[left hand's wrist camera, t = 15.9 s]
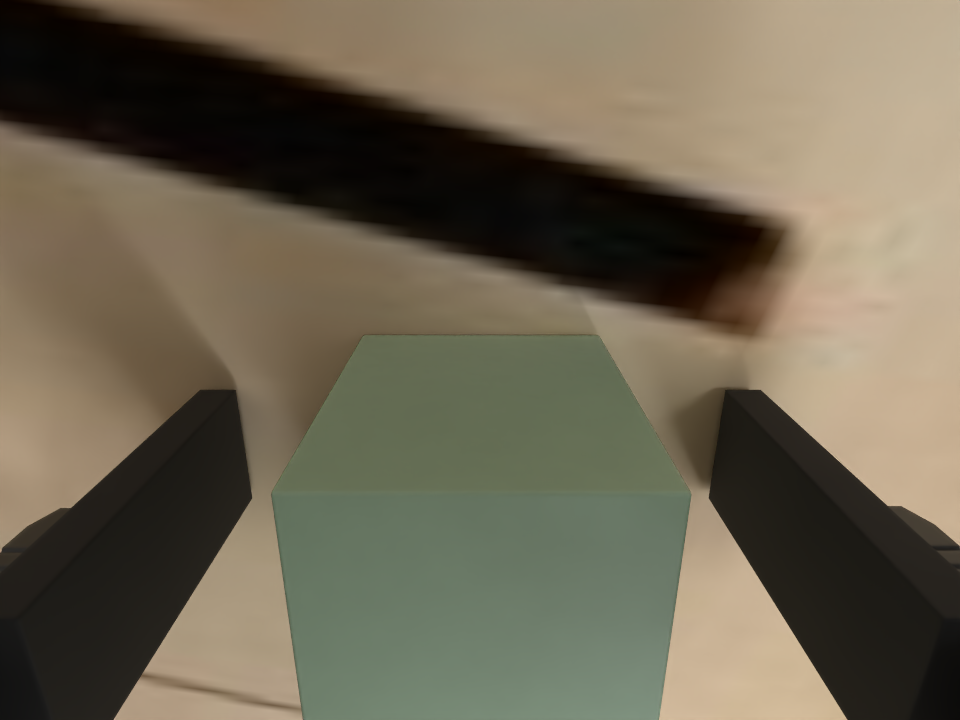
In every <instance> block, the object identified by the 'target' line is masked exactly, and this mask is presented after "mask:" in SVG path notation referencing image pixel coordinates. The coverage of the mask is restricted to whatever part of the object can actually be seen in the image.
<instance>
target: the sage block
mask: <svg viewBox="0 0 960 720" xmlns="http://www.w3.org/2000/svg"><path fill="white" fill-rule="evenodd" d="M271 496H272V503H273V510H274V517H275V524H276V531H277V538H278V546H279V553H280V560H281V567H282V574H283V581H284V588H285V595H286V602H287V609H288V616H289V624H290V631H291V638H292V645H293V652H294V659H295V666H296V673H297V680H298V687H299V694H300V702H301V709H302V716H303V720H659V715H660V708H661V701H662V694H663V687H664V680H665V673H666V667H667V660H668V653H669V646H670V639H671V632H672V625H673V618H674V611H675V604H676V597H677V590H678V583H679V576H680V569H681V562H682V555H683V549H684V542H685V535H686V528H687V521H688V514H689V507H690V500H691V493H690V490H689V489H688V487H687V485H686V484H685V482H684V480H683V478H682V477H681V475H680V473H679V472H678V470H677V468H676V466H675V465H674V463H673V461H672V460H671V458H670V456H669V454H668V453H667V451H666V449H665V448H664V446H663V444H662V443H661V441H660V439H659V437H658V436H657V434H656V432H655V431H654V429H653V427H652V425H651V424H650V422H649V420H648V419H647V417H646V415H645V414H644V412H643V410H642V408H641V407H640V405H639V403H638V402H637V400H636V398H635V396H634V395H633V393H632V391H631V390H630V388H629V386H628V384H627V383H626V381H625V379H624V378H623V376H622V374H621V373H620V371H619V369H618V367H617V366H616V364H615V362H614V361H613V359H612V357H611V355H610V354H609V352H608V350H607V349H606V347H605V345H604V344H603V342H602V340H601V338H600V337H599V336H597V335H364V336H363V337H362V338H361V340H360V342H359V344H358V345H357V347H356V349H355V350H354V352H353V354H352V356H351V357H350V359H349V361H348V362H347V364H346V366H345V367H344V369H343V371H342V373H341V374H340V376H339V378H338V379H337V381H336V383H335V385H334V386H333V388H332V390H331V391H330V393H329V395H328V397H327V398H326V400H325V402H324V403H323V405H322V407H321V409H320V410H319V412H318V414H317V415H316V417H315V419H314V421H313V422H312V424H311V426H310V427H309V429H308V431H307V433H306V434H305V436H304V438H303V439H302V441H301V443H300V445H299V446H298V448H297V450H296V451H295V453H294V455H293V456H292V458H291V460H290V462H289V463H288V465H287V467H286V468H285V470H284V472H283V474H282V475H281V477H280V479H279V480H278V482H277V484H276V486H275V487H274V489H273V491H272V494H271Z"/></svg>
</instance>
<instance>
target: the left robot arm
mask: <svg viewBox="0 0 960 720" xmlns="http://www.w3.org/2000/svg"><path fill="white" fill-rule="evenodd" d="M251 499H252V494H251V487H250V481H249V474H248V468H247V461H246V455H245V448H244V442H243V436H242V429H241V423H240V416H239V410H238V403H237V397H236V390H200V391H199V392H198V393H196V394H195V395H194V396H193V397H192V398H191V399H190V400H189V401H188V402H187V403H186V404H184V405H183V406H182V407H181V408H180V409H179V410H178V411H177V412H176V413H175V414H174V415H172V416H171V417H170V418H169V419H168V420H167V421H166V422H165V423H164V424H163V425H162V426H160V427H159V428H158V429H157V430H156V431H155V432H154V433H153V434H152V435H151V436H149V437H148V438H147V439H146V440H145V441H144V442H143V443H142V444H141V445H140V446H139V447H137V448H136V449H135V450H134V451H133V452H132V453H131V454H130V455H129V456H128V457H127V458H125V459H124V460H123V461H122V462H121V463H120V464H119V465H118V466H117V467H116V468H114V469H113V470H112V471H111V472H110V473H109V474H108V475H107V476H106V477H105V478H104V479H102V480H101V481H100V482H99V483H98V484H97V485H96V486H95V487H94V488H93V489H92V490H90V491H89V492H88V493H87V494H86V495H85V496H84V497H83V498H82V499H81V500H79V501H78V502H77V503H76V504H75V505H74V506H73V507H72V508H60V509H58V510H56V511H55V512H53V513H51V514H49V515H47V516H46V517H44V518H42V519H40V520H38V521H36V522H35V523H33V524H31V525H29V526H27V527H26V528H25V529H24V530H23V531H22V532H20V533H19V534H18V535H17V536H16V537H15V538H13V539H12V540H11V541H10V542H9V543H8V544H7V545H5V546H4V547H3V548H2V552H1V553H0V720H114V718H115V716H116V715H117V713H118V712H119V710H120V708H121V707H122V705H123V704H124V702H125V700H126V699H127V697H128V696H129V694H130V692H131V691H132V689H133V688H134V686H135V684H136V683H137V681H138V680H139V678H140V676H141V675H142V673H143V672H144V670H145V668H146V667H147V665H148V664H149V662H150V660H151V659H152V657H153V656H154V654H155V652H156V651H157V649H158V648H159V646H160V644H161V643H162V641H163V640H164V638H165V636H166V635H167V633H168V632H169V630H170V628H171V627H172V625H173V624H174V622H175V620H176V619H177V617H178V616H179V614H180V612H181V611H182V609H183V608H184V606H185V605H186V603H187V601H188V600H189V598H190V597H191V595H192V593H193V592H194V590H195V589H196V587H197V585H198V584H199V582H200V581H201V579H202V577H203V576H204V574H205V573H206V571H207V569H208V568H209V566H210V565H211V563H212V561H213V560H214V558H215V557H216V555H217V553H218V552H219V550H220V549H221V547H222V545H223V544H224V542H225V541H226V539H227V537H228V536H229V534H230V533H231V531H232V529H233V528H234V526H235V525H236V523H237V521H238V520H239V518H240V517H241V515H242V513H243V512H244V510H245V509H246V507H247V505H248V504H249V502H250V501H251ZM709 499H710V501H711V502H712V504H713V506H714V507H715V509H716V510H717V512H718V514H719V515H720V517H721V518H722V520H723V522H724V523H725V525H726V526H727V528H728V530H729V531H730V533H731V534H732V536H733V538H734V539H735V541H736V542H737V544H738V546H739V547H740V549H741V550H742V552H743V554H744V555H745V557H746V558H747V560H748V562H749V563H750V565H751V566H752V568H753V570H754V571H755V573H756V574H757V576H758V578H759V579H760V581H761V582H762V584H763V586H764V587H765V589H766V590H767V592H768V594H769V595H770V597H771V598H772V600H773V602H774V603H775V605H776V606H777V608H778V609H779V611H780V613H781V614H782V616H783V617H784V619H785V621H786V622H787V624H788V625H789V627H790V629H791V630H792V632H793V633H794V635H795V637H796V638H797V640H798V641H799V643H800V645H801V646H802V648H803V649H804V651H805V653H806V654H807V656H808V657H809V659H810V661H811V662H812V664H813V665H814V667H815V669H816V670H817V672H818V673H819V675H820V677H821V678H822V680H823V681H824V683H825V685H826V686H827V688H828V689H829V691H830V693H831V694H832V696H833V697H834V699H835V701H836V702H837V704H838V705H839V707H840V709H841V710H842V712H843V713H844V715H845V717H846V718H847V720H960V546H959V545H958V544H957V543H955V542H954V541H953V540H952V539H951V538H950V537H948V536H947V535H946V534H945V533H944V532H943V531H941V530H940V529H939V528H938V527H937V526H936V525H934V524H933V523H931V522H929V521H927V520H925V519H923V518H922V517H920V516H918V515H916V514H914V513H912V512H911V511H909V510H907V509H905V508H903V507H902V506H887V505H886V504H885V503H884V502H883V501H881V500H880V499H879V498H878V497H877V496H876V495H875V494H874V493H873V492H872V491H871V490H869V489H868V488H867V487H866V486H865V485H864V484H863V483H862V482H861V481H860V480H859V479H857V478H856V477H855V476H854V475H853V474H852V473H851V472H850V471H849V470H848V469H846V468H845V467H844V466H843V465H842V464H841V463H840V462H839V461H838V460H837V459H836V458H834V457H833V456H832V455H831V454H830V453H829V452H828V451H827V450H826V449H825V448H824V447H822V446H821V445H820V444H819V443H818V442H817V441H816V440H815V439H814V438H813V437H811V436H810V435H809V434H808V433H807V432H806V431H805V430H804V429H803V428H802V427H801V426H799V425H798V424H797V423H796V422H795V421H794V420H793V419H792V418H791V417H790V416H789V415H787V414H786V413H785V412H784V411H783V410H782V409H781V408H780V407H779V406H778V405H776V404H775V403H774V402H773V401H772V400H771V399H770V398H769V397H768V396H767V395H766V394H764V393H763V392H762V391H761V390H725V397H724V403H723V409H722V416H721V422H720V429H719V435H718V442H717V448H716V454H715V461H714V467H713V474H712V480H711V487H710V493H709Z"/></svg>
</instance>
